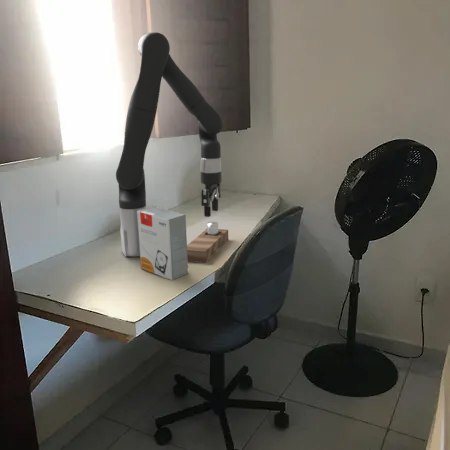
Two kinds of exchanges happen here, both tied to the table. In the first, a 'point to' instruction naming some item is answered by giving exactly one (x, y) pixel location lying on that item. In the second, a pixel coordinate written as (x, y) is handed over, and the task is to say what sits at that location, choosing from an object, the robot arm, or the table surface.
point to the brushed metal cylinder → (212, 228)
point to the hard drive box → (163, 242)
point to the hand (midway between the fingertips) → (211, 213)
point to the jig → (206, 246)
